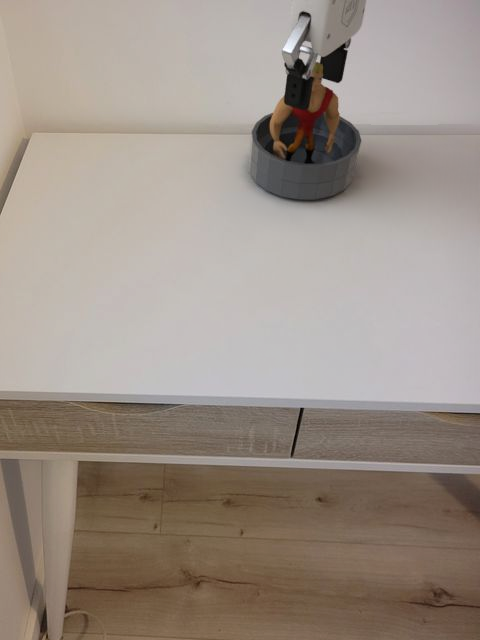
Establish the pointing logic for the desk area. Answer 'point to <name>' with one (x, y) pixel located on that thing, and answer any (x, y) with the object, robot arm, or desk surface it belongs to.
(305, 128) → the action figure
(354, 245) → the desk surface
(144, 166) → the desk surface
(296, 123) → the bowl
